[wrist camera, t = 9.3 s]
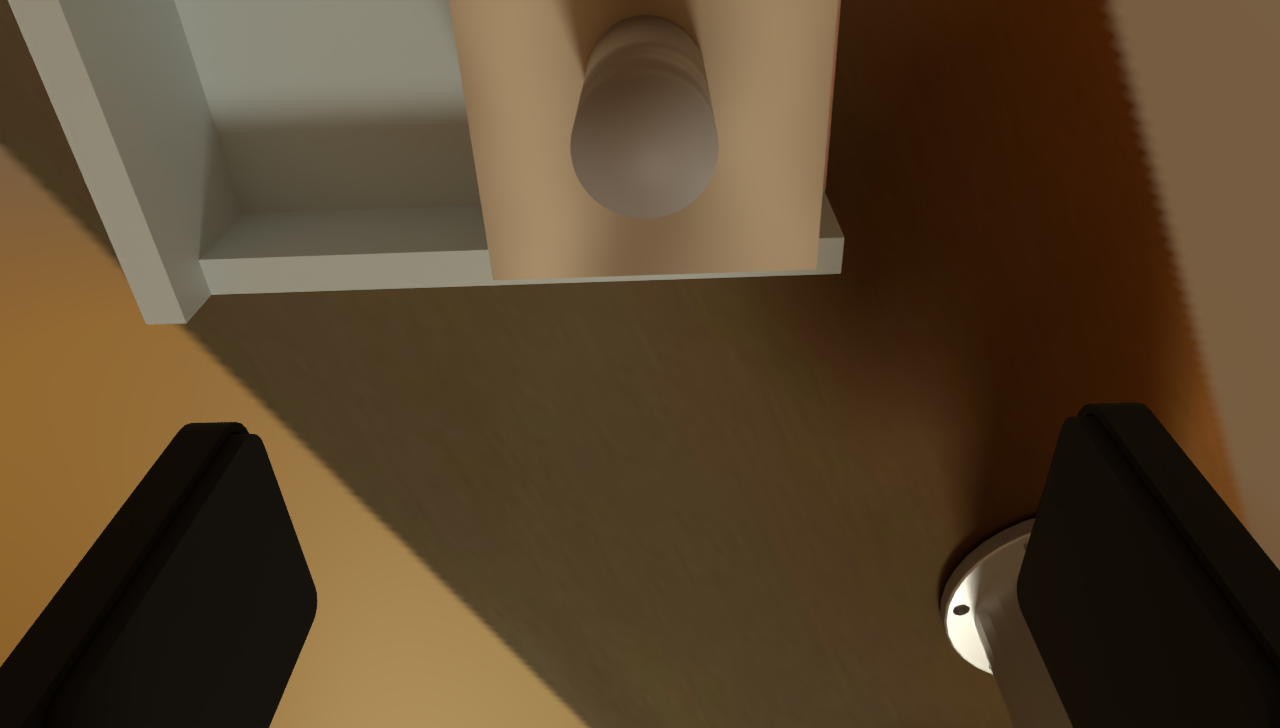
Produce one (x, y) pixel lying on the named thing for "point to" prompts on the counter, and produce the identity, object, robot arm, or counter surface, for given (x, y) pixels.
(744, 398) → the counter surface
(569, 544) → the counter surface
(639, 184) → the wooden block with knob
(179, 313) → the bay
